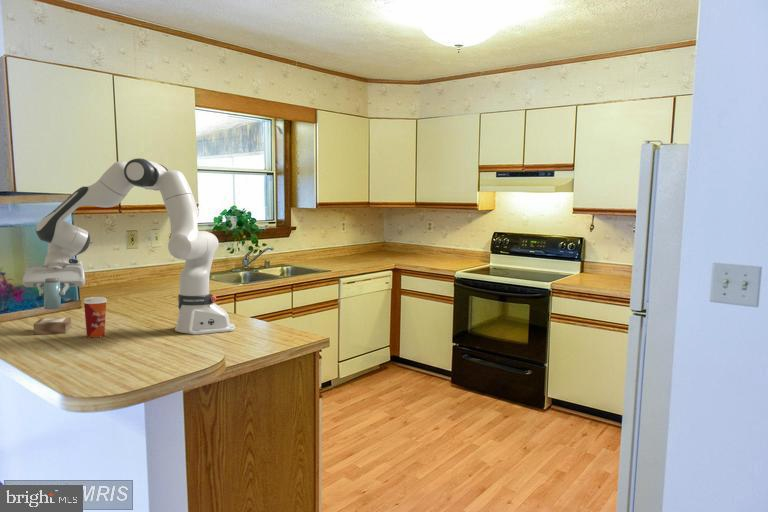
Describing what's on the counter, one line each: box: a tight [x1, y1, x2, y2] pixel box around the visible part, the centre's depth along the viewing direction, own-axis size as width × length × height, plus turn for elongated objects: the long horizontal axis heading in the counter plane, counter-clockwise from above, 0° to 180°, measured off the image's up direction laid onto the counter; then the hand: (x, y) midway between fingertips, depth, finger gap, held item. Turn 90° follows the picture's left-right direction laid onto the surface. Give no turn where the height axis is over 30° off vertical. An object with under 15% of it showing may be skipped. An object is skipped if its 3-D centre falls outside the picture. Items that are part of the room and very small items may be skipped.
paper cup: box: [82, 296, 108, 338], centre depth 188 cm, size 8×8×14 cm
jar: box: [43, 278, 62, 311], centre depth 192 cm, size 5×5×11 cm
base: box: [33, 317, 72, 336], centre depth 193 cm, size 10×10×4 cm
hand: (51, 294), depth 192 cm, fingers closed on jar, 5 cm apart
